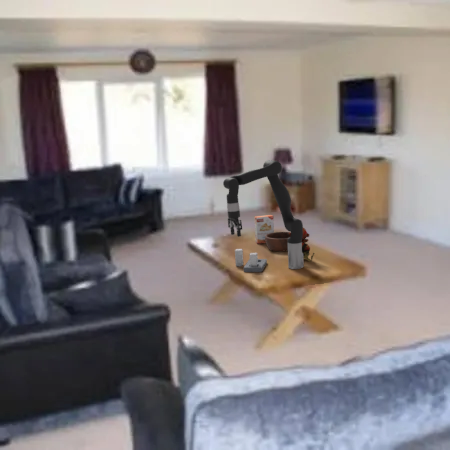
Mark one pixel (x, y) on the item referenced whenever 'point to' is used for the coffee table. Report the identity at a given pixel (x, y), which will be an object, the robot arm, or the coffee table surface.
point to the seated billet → (253, 260)
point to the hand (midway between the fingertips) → (235, 235)
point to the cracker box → (263, 227)
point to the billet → (239, 257)
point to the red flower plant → (305, 245)
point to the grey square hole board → (260, 267)
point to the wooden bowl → (277, 241)
